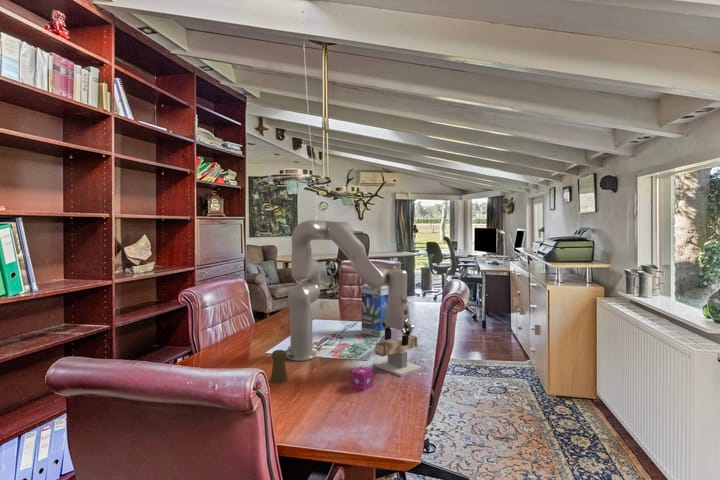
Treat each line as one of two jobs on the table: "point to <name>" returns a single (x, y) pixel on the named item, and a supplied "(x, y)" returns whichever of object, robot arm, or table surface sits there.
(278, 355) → the cork
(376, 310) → the string lights box
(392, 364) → the ridge block
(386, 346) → the beech bar
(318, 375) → the table surface
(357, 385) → the puzzle toy
